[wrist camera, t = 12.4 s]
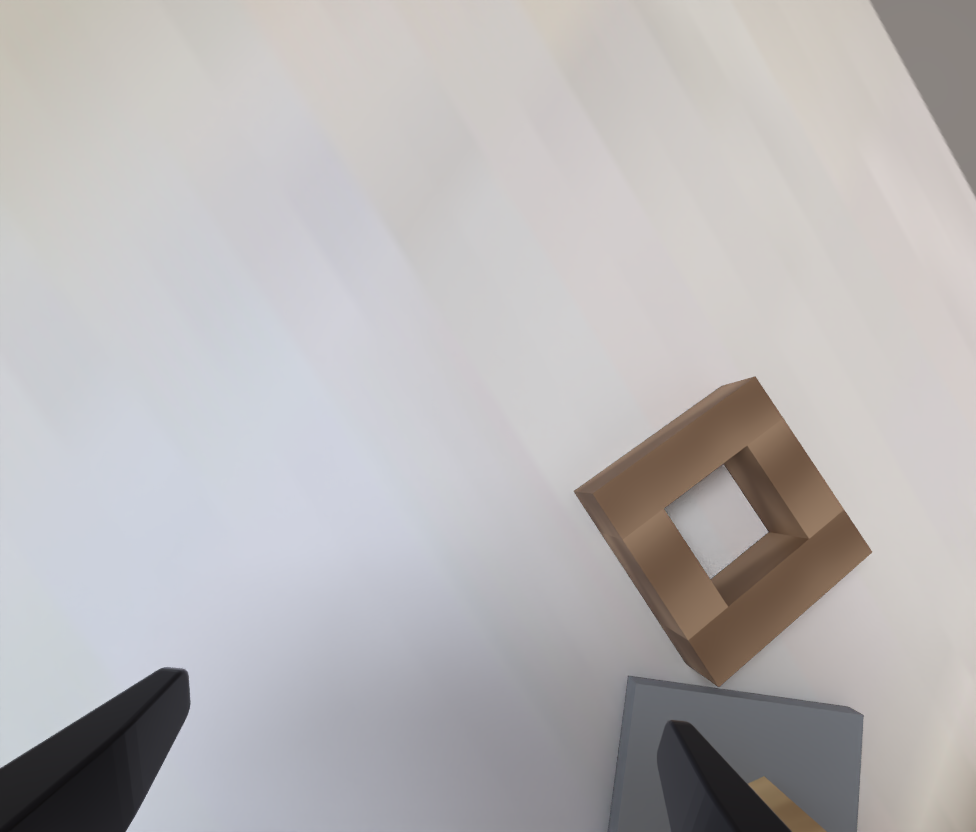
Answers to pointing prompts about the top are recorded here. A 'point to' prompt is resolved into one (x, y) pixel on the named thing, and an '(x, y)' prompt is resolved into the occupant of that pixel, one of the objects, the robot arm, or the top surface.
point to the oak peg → (784, 807)
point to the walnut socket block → (759, 570)
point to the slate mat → (740, 750)
